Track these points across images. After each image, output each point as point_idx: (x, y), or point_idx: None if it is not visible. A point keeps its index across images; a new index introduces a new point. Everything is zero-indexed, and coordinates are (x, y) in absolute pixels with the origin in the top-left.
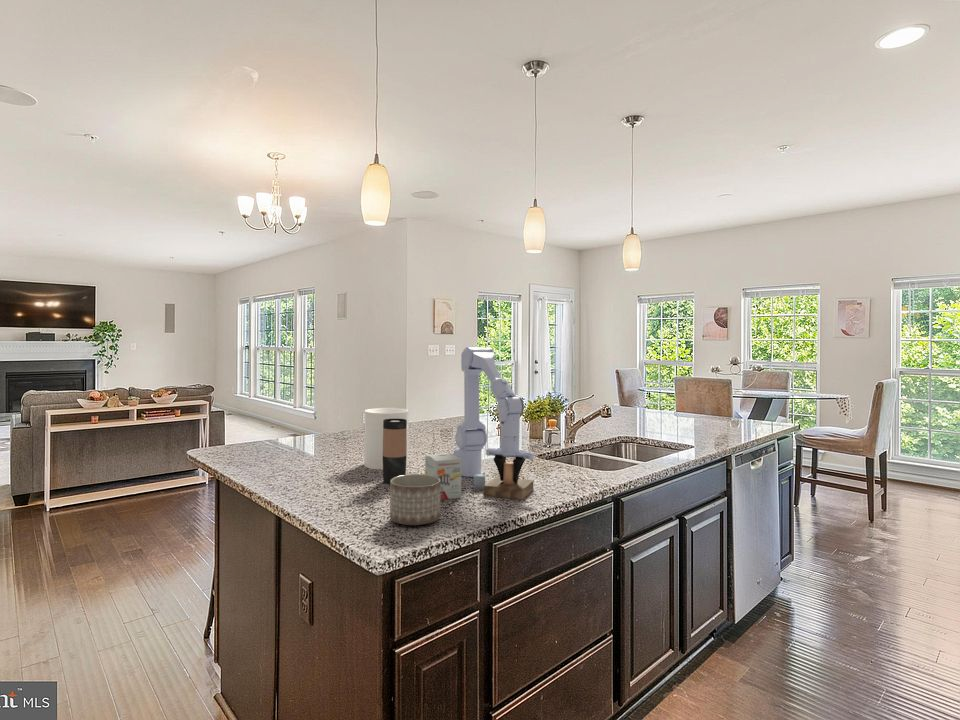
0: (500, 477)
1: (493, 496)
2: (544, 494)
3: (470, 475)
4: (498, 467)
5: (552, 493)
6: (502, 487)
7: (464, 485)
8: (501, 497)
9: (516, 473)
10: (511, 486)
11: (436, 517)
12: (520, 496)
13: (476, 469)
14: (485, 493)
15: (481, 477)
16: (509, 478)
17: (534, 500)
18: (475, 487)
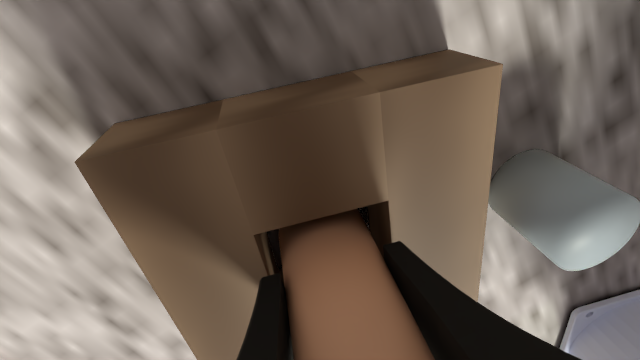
0: (411, 255)
1: (366, 69)
2: (107, 319)
3: (612, 306)
4: (493, 326)
5: (87, 356)
6: (305, 113)
7: (618, 175)
8: (298, 84)
9: (245, 350)
10: (251, 194)
11: None
12: (122, 131)
13: (611, 353)
14: (441, 54)
15: (573, 210)
16: (316, 274)
17: (38, 179)
18: (550, 154)
